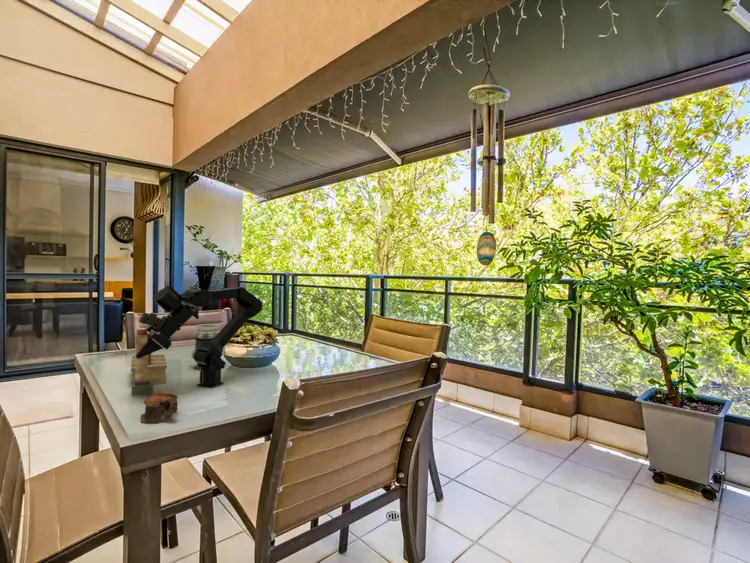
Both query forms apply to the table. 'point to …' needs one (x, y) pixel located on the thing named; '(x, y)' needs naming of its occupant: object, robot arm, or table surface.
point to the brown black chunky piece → (159, 407)
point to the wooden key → (142, 362)
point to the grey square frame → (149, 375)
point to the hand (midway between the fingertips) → (136, 356)
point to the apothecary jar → (204, 336)
